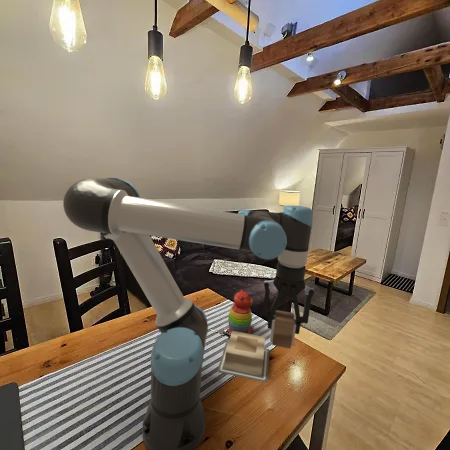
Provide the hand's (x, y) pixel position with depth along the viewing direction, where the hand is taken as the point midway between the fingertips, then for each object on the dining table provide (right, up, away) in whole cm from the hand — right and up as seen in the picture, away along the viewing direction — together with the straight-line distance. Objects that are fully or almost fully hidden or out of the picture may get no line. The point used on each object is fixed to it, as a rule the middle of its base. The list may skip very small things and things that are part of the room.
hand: (281, 340), depth 73 cm
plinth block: (-9, -13, +14) cm, 22 cm away
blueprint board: (-9, -14, +14) cm, 22 cm away
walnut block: (0, 0, 0) cm, 0 cm away
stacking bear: (-10, -11, +30) cm, 33 cm away
